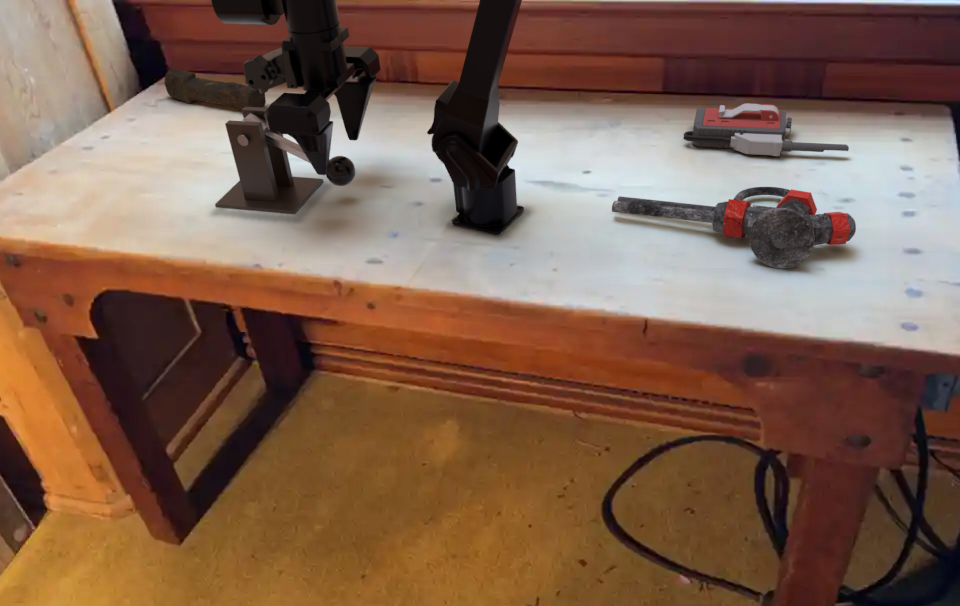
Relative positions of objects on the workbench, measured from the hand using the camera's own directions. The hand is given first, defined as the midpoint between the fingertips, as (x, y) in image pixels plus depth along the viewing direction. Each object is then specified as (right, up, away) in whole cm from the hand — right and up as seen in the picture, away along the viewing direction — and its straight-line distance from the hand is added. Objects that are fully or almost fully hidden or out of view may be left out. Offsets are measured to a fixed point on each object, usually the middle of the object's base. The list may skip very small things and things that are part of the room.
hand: (338, 156), depth 108 cm
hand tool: (-25, +15, +34) cm, 44 cm away
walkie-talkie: (+54, +3, +9) cm, 54 cm away
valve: (+45, -9, -6) cm, 47 cm away
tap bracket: (-10, -4, +7) cm, 13 cm away
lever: (-5, 0, +2) cm, 6 cm away
